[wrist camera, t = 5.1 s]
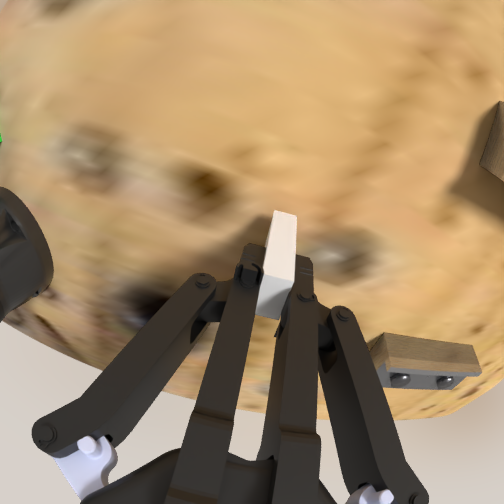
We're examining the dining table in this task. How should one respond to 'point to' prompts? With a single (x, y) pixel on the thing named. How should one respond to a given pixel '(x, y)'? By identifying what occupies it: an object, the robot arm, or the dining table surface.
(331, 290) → the dining table surface
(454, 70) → the dining table surface
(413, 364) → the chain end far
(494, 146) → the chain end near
